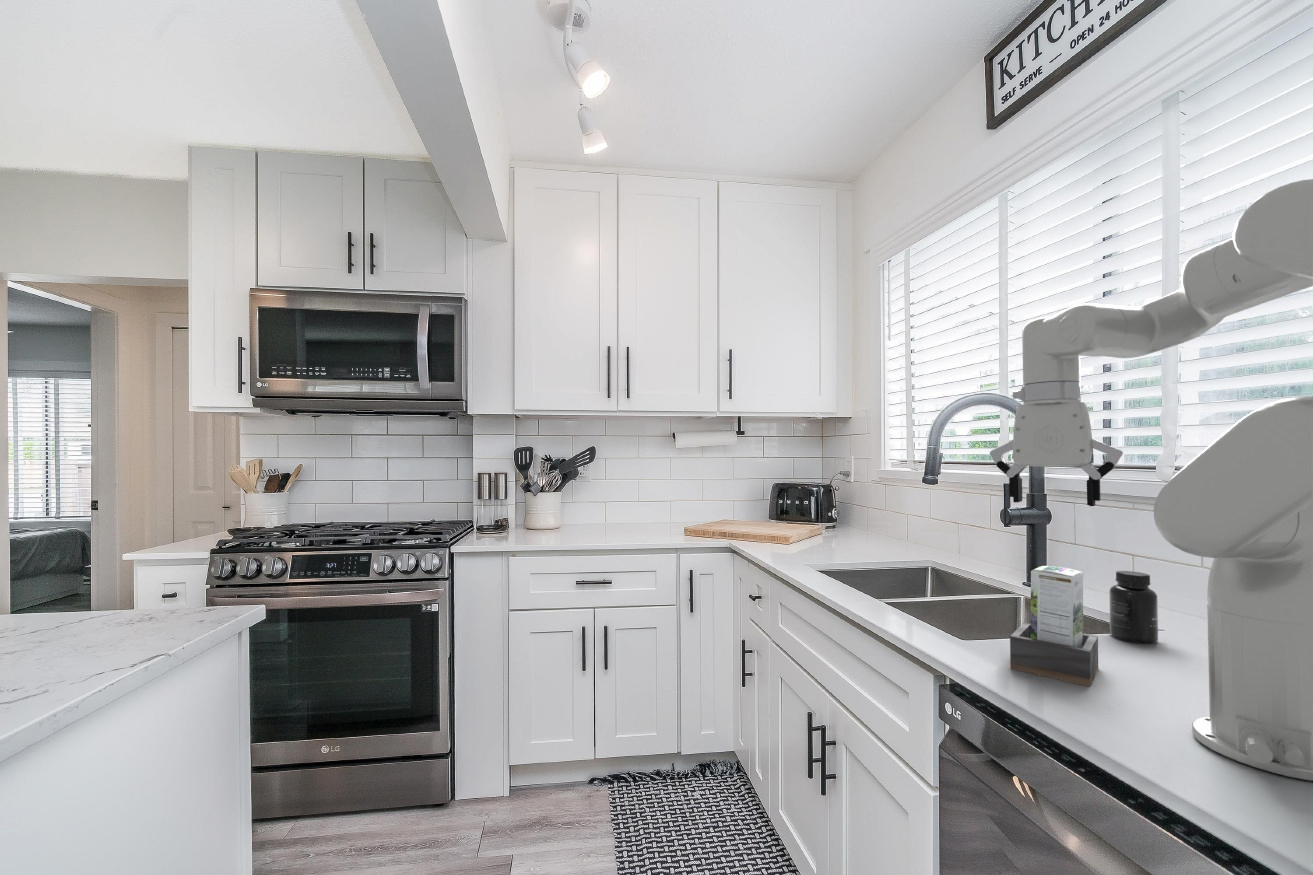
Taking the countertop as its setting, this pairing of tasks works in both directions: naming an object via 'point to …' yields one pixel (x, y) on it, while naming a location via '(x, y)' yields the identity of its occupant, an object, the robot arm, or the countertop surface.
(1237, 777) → the countertop surface
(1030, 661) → the socket block
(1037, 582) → the syrup box
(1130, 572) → the supplement bottle
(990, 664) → the countertop surface
